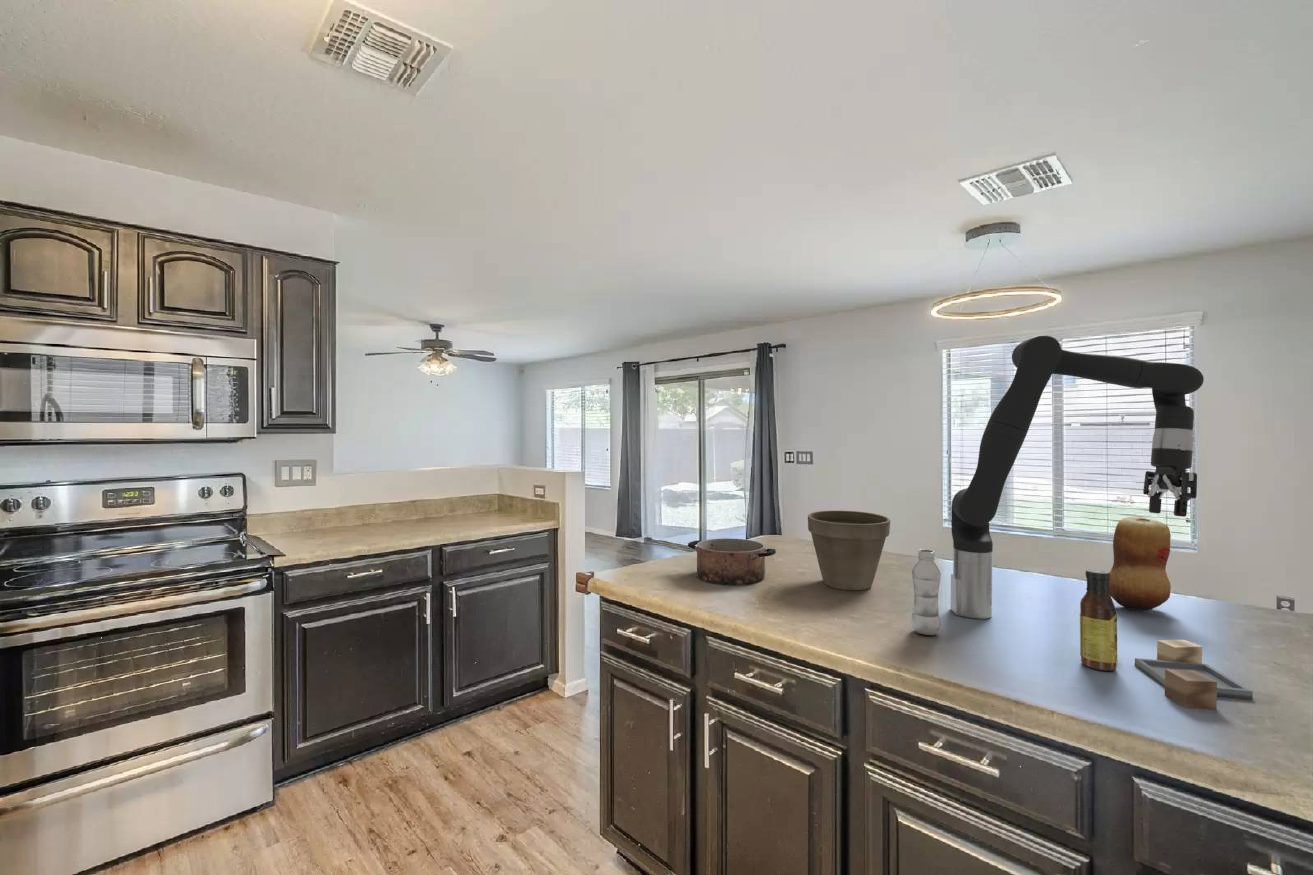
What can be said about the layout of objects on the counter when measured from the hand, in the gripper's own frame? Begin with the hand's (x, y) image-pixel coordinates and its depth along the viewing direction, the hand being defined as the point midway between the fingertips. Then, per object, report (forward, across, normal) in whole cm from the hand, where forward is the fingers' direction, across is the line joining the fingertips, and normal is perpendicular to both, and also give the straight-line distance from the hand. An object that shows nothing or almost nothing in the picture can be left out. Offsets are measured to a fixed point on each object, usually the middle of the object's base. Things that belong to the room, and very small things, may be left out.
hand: (1166, 514), depth 143 cm
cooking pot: (+36, -39, -103) cm, 116 cm away
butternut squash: (+27, -20, +7) cm, 34 cm away
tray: (+32, +28, -12) cm, 44 cm away
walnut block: (+33, +38, -18) cm, 54 cm away
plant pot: (+33, -34, -66) cm, 81 cm away
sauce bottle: (+33, +23, -26) cm, 48 cm away
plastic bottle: (+35, +8, -55) cm, 66 cm away
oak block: (+31, +19, -8) cm, 37 cm away
